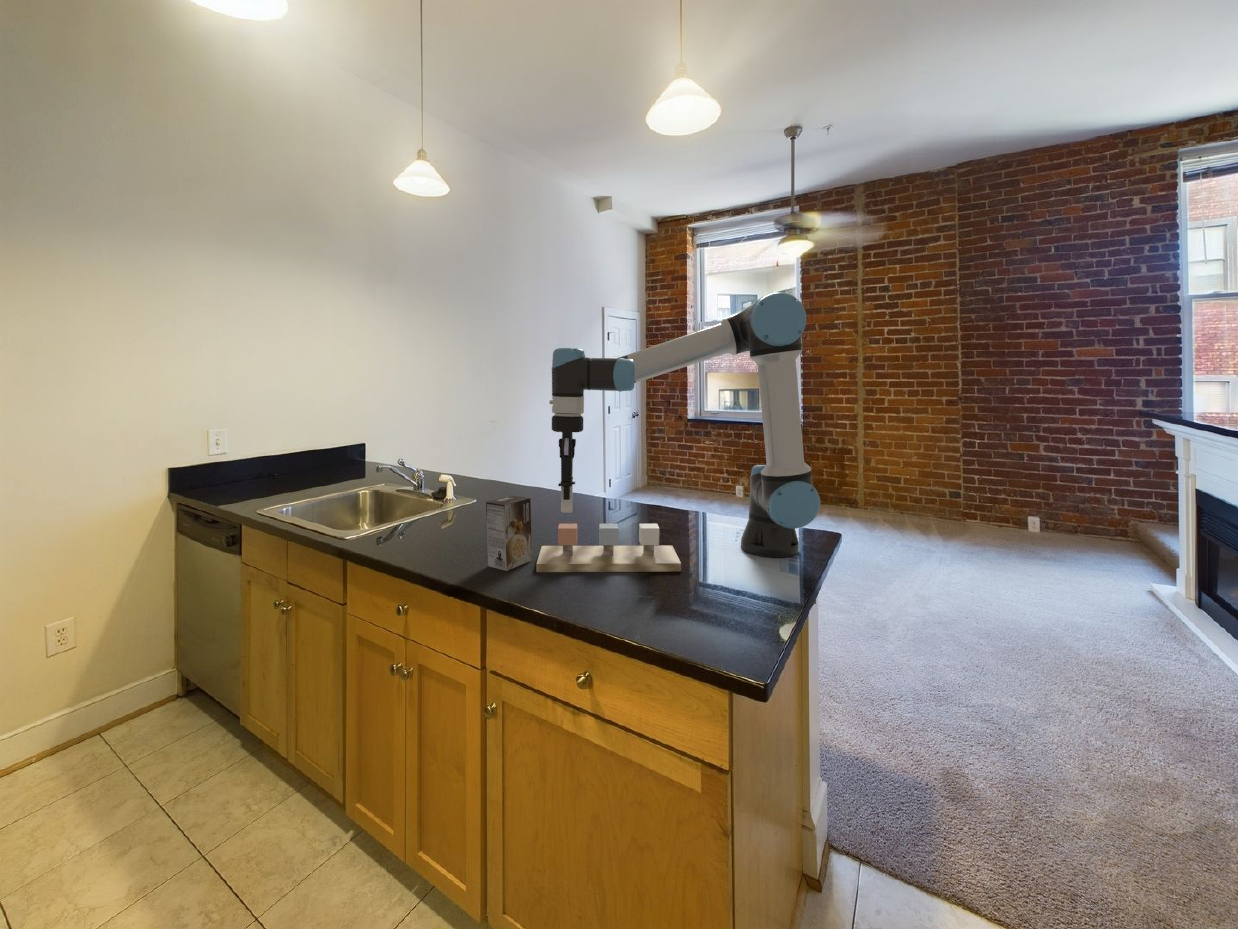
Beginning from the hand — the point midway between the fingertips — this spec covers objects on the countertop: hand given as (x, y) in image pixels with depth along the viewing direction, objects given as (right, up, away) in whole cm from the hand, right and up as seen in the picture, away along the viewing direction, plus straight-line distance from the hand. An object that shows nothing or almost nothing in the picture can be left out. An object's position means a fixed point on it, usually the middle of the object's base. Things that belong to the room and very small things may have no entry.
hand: (566, 511), depth 130 cm
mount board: (+10, -13, +2) cm, 16 cm away
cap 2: (+20, -8, +2) cm, 22 cm away
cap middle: (+10, -8, +2) cm, 13 cm away
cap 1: (0, -8, +1) cm, 8 cm away
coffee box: (-14, -13, 0) cm, 19 cm away
